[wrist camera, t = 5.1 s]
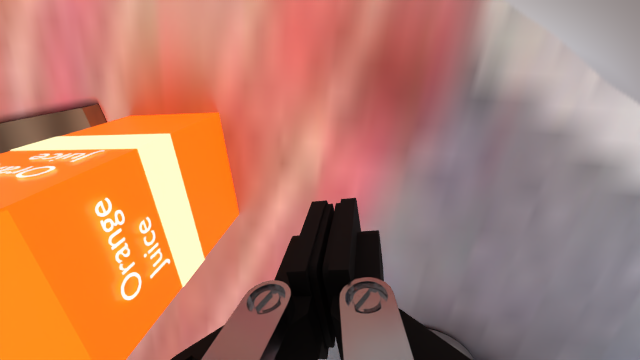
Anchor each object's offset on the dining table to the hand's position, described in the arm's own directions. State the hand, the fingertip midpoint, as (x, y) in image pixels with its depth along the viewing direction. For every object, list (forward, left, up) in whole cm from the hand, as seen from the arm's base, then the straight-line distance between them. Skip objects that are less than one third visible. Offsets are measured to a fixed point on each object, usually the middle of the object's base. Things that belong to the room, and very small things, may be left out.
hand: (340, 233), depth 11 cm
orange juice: (+14, 0, -11) cm, 18 cm away
